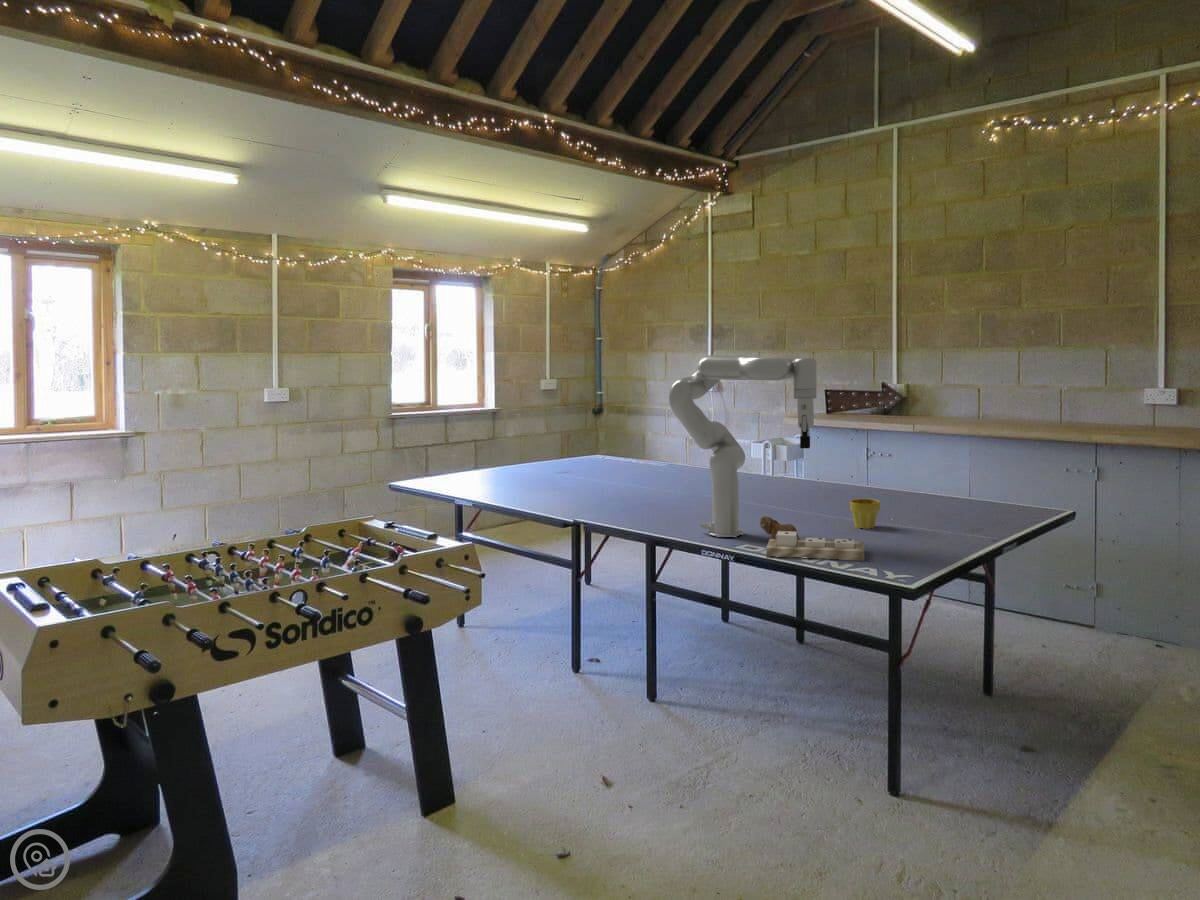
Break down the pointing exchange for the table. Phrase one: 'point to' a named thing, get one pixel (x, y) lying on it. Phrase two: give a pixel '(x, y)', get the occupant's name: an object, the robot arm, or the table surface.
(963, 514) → the table surface
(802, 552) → the board
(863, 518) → the plant pot
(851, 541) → the tile three
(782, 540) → the tile one
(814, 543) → the tile two
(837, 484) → the table surface
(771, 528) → the lion figurine
